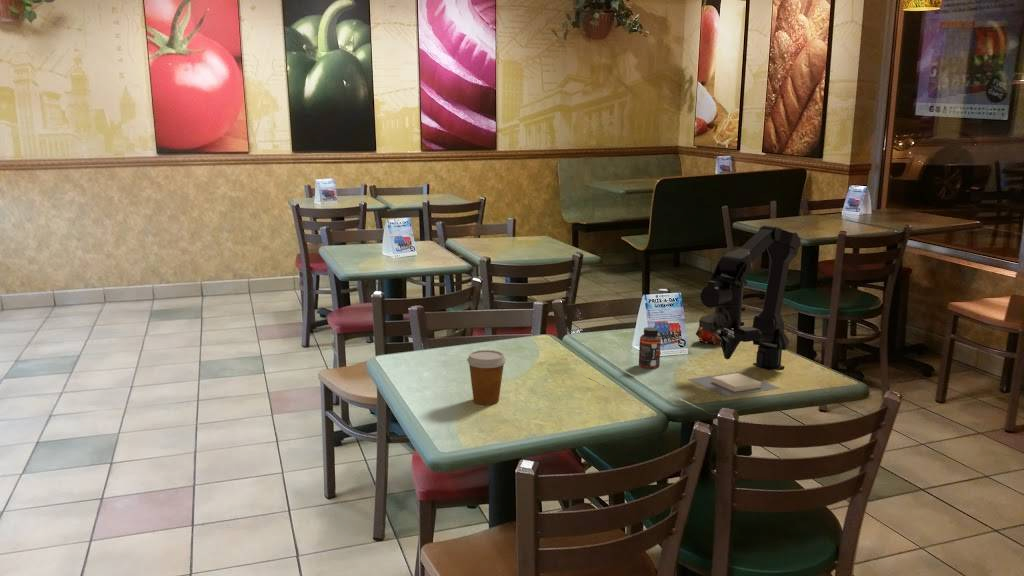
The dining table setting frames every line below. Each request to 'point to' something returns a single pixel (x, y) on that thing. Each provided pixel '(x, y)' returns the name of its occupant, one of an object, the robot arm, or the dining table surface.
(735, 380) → the tile
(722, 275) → the robot arm
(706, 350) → the dining table surface
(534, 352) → the dining table surface
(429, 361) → the dining table surface
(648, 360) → the supplement bottle
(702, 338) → the dragon fruit
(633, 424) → the dining table surface
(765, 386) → the mat
